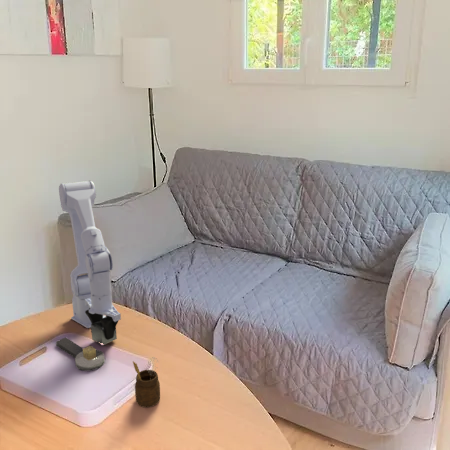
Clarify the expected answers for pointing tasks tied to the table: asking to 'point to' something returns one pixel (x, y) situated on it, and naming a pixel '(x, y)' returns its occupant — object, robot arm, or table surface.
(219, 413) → the table surface
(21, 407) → the table surface
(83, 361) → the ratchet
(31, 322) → the table surface
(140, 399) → the utensil holder
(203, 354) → the table surface
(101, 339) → the hollow square tube
